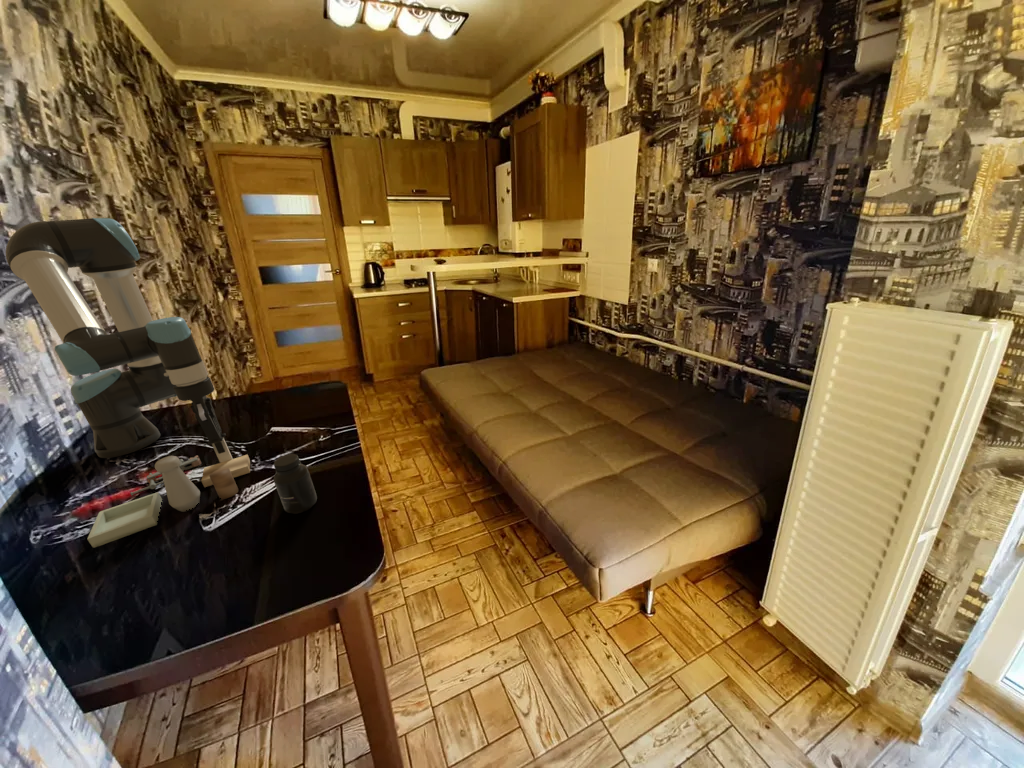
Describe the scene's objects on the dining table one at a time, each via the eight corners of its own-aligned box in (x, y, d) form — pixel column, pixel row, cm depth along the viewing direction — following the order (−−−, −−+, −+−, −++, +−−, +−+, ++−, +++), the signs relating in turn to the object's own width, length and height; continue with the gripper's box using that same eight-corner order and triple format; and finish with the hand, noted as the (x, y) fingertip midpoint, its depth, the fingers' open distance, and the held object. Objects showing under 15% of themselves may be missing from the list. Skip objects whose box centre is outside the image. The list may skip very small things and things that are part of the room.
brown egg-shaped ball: (219, 492, 98) (209, 472, 96) (238, 486, 100) (229, 465, 98) (219, 501, 95) (209, 480, 93) (238, 493, 97) (229, 473, 95)
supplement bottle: (285, 519, 87) (266, 473, 82) (285, 501, 93) (267, 457, 88) (319, 507, 90) (303, 462, 85) (317, 490, 95) (302, 447, 91)
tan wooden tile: (207, 475, 107) (203, 467, 106) (250, 461, 111) (247, 454, 110) (205, 488, 101) (201, 480, 100) (250, 473, 106) (247, 466, 105)
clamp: (195, 451, 115) (201, 463, 108) (198, 457, 116) (204, 470, 109) (127, 476, 106) (128, 492, 99) (131, 483, 107) (132, 499, 100)
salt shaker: (184, 499, 97) (161, 453, 92) (209, 496, 97) (187, 450, 92) (167, 515, 92) (142, 468, 87) (193, 512, 92) (169, 465, 87)
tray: (104, 520, 92) (99, 511, 91) (162, 500, 98) (158, 492, 97) (93, 548, 84) (87, 539, 83) (156, 524, 89) (151, 515, 88)
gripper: (174, 378, 103) (210, 456, 112) (169, 393, 93) (209, 477, 102) (209, 369, 106) (241, 446, 116) (208, 383, 96) (243, 466, 106)
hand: (226, 460), depth 109 cm, fingers closed
